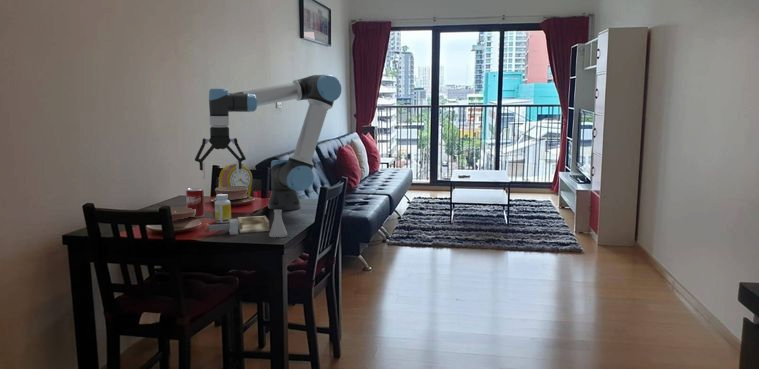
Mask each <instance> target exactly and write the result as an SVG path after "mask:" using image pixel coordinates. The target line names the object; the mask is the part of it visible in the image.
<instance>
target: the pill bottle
mask: <svg viewBox="0 0 759 369" xmlns="http://www.w3.org/2000/svg"><path fill="white" fill-rule="evenodd" d="M215 197H216V200H215V201H214V218H215V222H216V224H228V223H229V219H232V209H231V208H232V206H231V201H230V200H228V199H227V198H228V194H222V193H218V194H216V195H215Z"/></svg>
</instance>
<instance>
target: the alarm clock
mask: <svg viewBox="0 0 759 369" xmlns="http://www.w3.org/2000/svg"><path fill="white" fill-rule="evenodd" d="M241 166H242V168H241V169H239V178H237V166H236V162H233V163H230V164H227V165H225V166H224V167H223V168H222V169H221V170H220V173H219V177H218V183H219V187H228V186H230V187H231V186H246V187H248V194H247V196H250V197H251V193H252V185H253V175H252V174H253V173H252V172H251V170H250V168H249V167H247V166H245V165H244V163H241Z"/></svg>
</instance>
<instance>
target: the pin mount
mask: <svg viewBox="0 0 759 369" xmlns="http://www.w3.org/2000/svg"><path fill="white" fill-rule="evenodd" d="M228 224H230V229H228V231H229V235H231V236H232V235H239V229H238V219H237V218H231V219H229V222H228Z"/></svg>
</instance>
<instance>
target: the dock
mask: <svg viewBox="0 0 759 369" xmlns="http://www.w3.org/2000/svg"><path fill="white" fill-rule="evenodd" d="M236 219H237V221H238V223H240V229H238V232H239V233H240V234H241V233H254V232H255V233H256V232H270V230H271V229H270V221H269V218H267V216H266V215H258V216H238V217H236Z"/></svg>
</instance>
